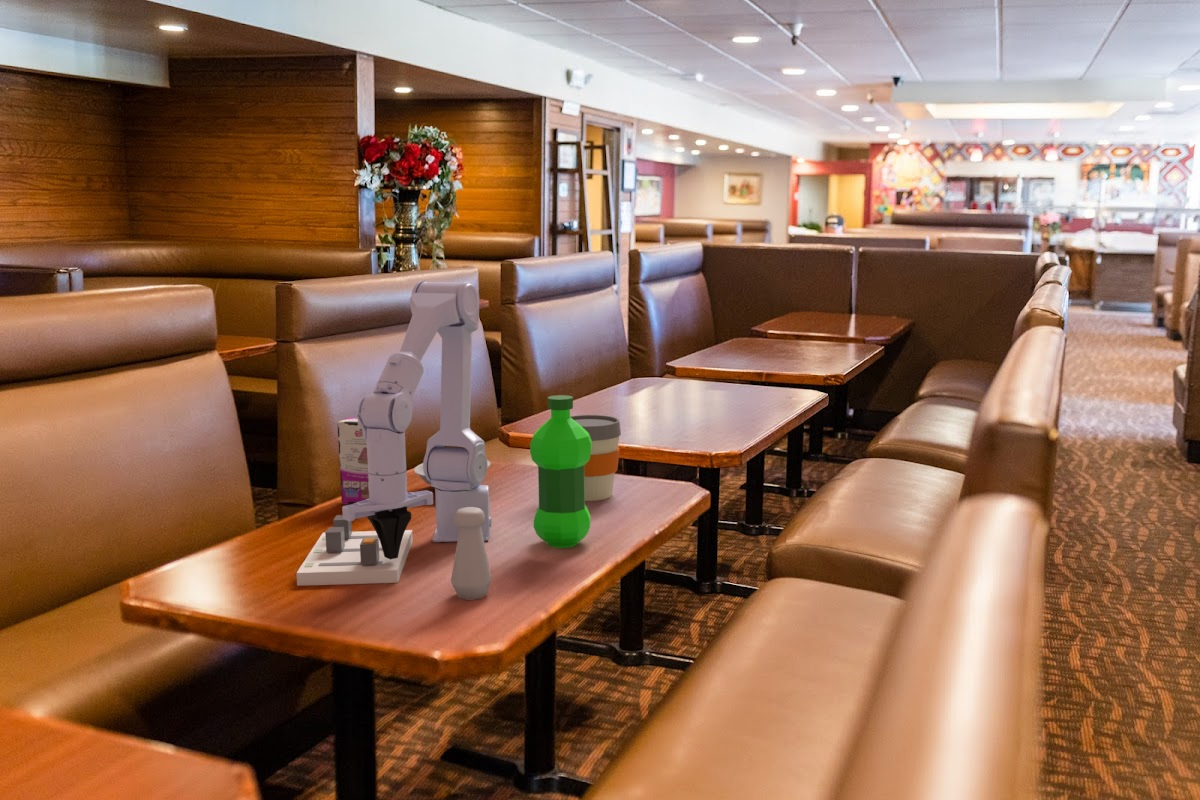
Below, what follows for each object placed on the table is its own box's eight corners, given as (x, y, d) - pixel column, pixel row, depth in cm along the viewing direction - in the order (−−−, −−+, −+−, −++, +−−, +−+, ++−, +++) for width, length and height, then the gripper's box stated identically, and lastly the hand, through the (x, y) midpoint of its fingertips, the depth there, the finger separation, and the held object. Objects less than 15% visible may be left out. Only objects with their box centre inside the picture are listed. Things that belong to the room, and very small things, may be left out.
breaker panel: (412, 541, 183) (412, 529, 183) (397, 582, 163) (397, 569, 162) (323, 543, 182) (322, 531, 182) (297, 585, 162) (296, 572, 161)
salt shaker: (474, 604, 153) (471, 516, 151) (443, 597, 156) (440, 511, 154) (499, 592, 158) (497, 507, 156) (469, 585, 161) (466, 501, 159)
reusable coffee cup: (560, 486, 219) (559, 414, 216) (621, 487, 219) (621, 414, 216) (555, 503, 207) (554, 426, 204) (620, 503, 206) (620, 426, 204)
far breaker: (351, 533, 180) (351, 514, 180) (349, 538, 177) (348, 519, 177) (337, 533, 180) (336, 515, 180) (334, 539, 177) (333, 520, 177)
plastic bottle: (593, 534, 186) (591, 392, 182) (591, 552, 176) (589, 402, 172) (535, 534, 187) (532, 392, 182) (530, 552, 176) (527, 403, 172)
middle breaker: (344, 545, 173) (343, 526, 173) (341, 551, 170) (340, 532, 170) (329, 546, 173) (328, 527, 173) (326, 552, 170) (325, 532, 170)
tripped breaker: (379, 558, 167) (378, 536, 166) (376, 564, 164) (375, 542, 163) (363, 558, 167) (362, 537, 166) (360, 564, 164) (359, 542, 163)
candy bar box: (404, 500, 210) (401, 418, 207) (394, 507, 205) (390, 422, 202) (352, 497, 212) (347, 416, 209) (340, 504, 207) (336, 421, 205)
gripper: (415, 459, 171) (418, 541, 173) (331, 474, 162) (335, 560, 164) (439, 467, 165) (442, 552, 168) (353, 482, 156) (357, 572, 158)
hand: (391, 557), depth 165 cm, fingers closed
